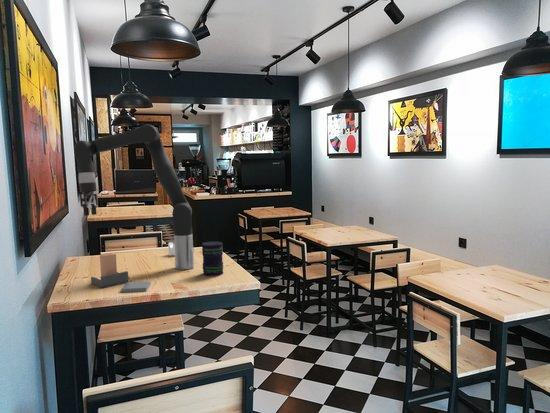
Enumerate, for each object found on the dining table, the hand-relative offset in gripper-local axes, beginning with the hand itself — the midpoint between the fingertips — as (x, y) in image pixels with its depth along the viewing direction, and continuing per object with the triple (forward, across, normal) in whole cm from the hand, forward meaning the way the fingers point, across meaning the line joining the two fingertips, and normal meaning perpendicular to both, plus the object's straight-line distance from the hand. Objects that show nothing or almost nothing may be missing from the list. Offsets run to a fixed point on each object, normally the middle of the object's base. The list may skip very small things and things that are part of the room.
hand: (90, 215), depth 200 cm
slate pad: (+32, -28, -28) cm, 51 cm away
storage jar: (+33, -6, -58) cm, 67 cm away
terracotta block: (+30, -18, -14) cm, 37 cm away
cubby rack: (+30, -18, -14) cm, 38 cm away
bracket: (+29, +42, -34) cm, 61 cm away
